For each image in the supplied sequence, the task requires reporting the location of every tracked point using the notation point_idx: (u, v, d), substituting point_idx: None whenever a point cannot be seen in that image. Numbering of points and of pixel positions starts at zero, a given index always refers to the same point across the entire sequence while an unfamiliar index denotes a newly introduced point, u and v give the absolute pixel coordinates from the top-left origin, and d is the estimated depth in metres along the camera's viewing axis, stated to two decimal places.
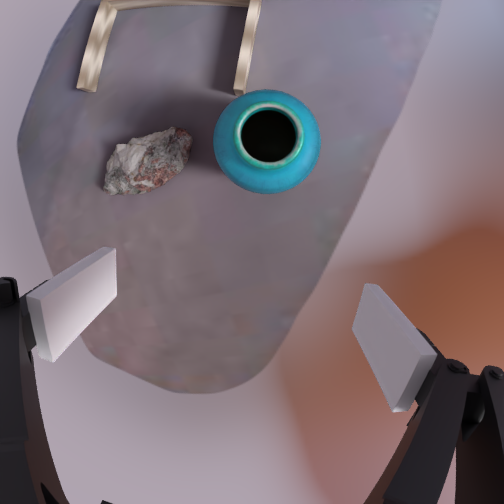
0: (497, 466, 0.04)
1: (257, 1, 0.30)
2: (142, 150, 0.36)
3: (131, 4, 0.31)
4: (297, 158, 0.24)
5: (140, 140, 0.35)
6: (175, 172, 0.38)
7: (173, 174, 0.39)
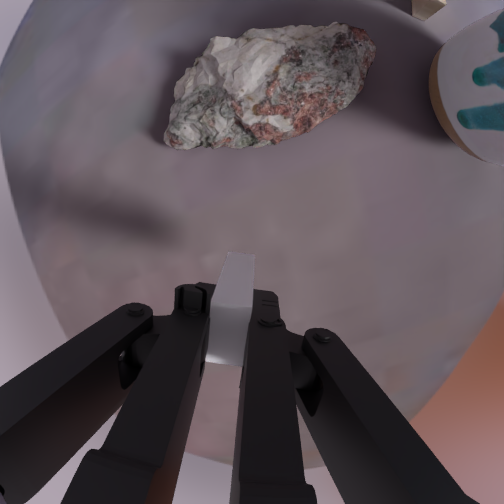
0: (366, 445, 0.05)
1: None
2: (276, 52, 0.15)
3: None
4: None
5: (272, 32, 0.14)
6: (338, 108, 0.17)
7: (332, 112, 0.18)
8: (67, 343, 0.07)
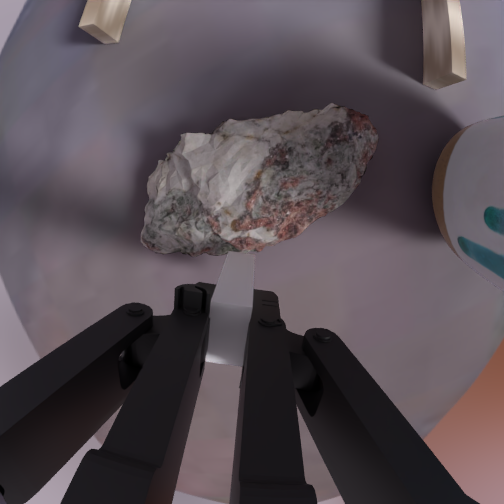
0: (367, 445, 0.05)
1: None
2: (258, 154, 0.15)
3: None
4: None
5: (253, 127, 0.14)
6: (329, 211, 0.17)
7: None
8: (67, 343, 0.07)
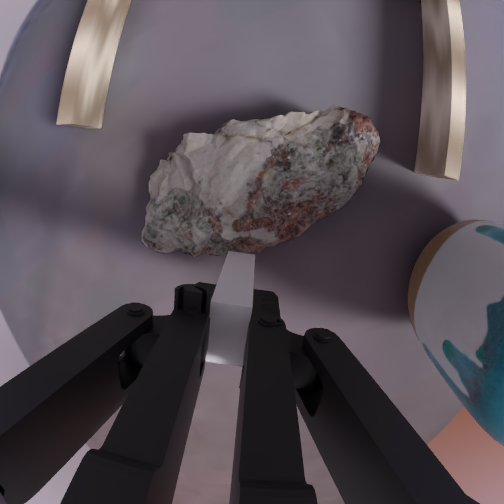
0: (367, 445, 0.05)
1: None
2: (260, 154, 0.15)
3: None
4: None
5: (256, 127, 0.14)
6: (330, 212, 0.17)
7: None
8: (67, 343, 0.07)
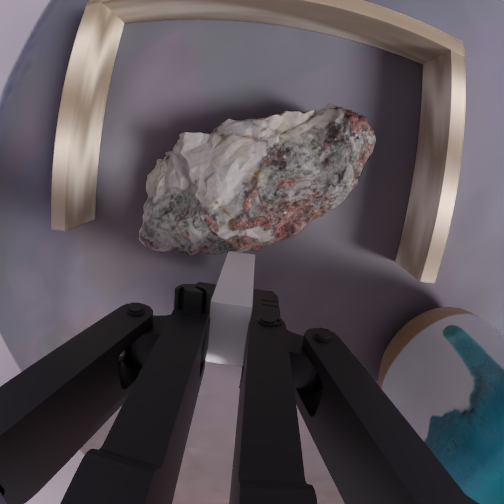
0: (366, 445, 0.05)
1: (462, 69, 0.13)
2: (256, 154, 0.15)
3: (159, 10, 0.14)
4: None
5: (251, 127, 0.14)
6: (326, 211, 0.17)
7: None
8: (67, 343, 0.07)
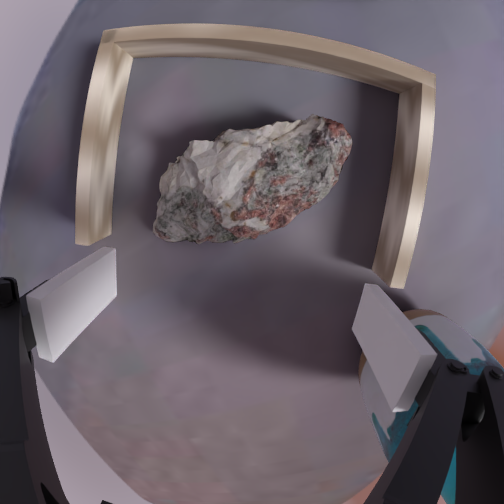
0: (497, 466, 0.04)
1: (432, 100, 0.17)
2: (252, 157, 0.18)
3: (165, 49, 0.18)
4: None
5: (248, 135, 0.18)
6: (312, 204, 0.21)
7: (306, 207, 0.21)
8: None
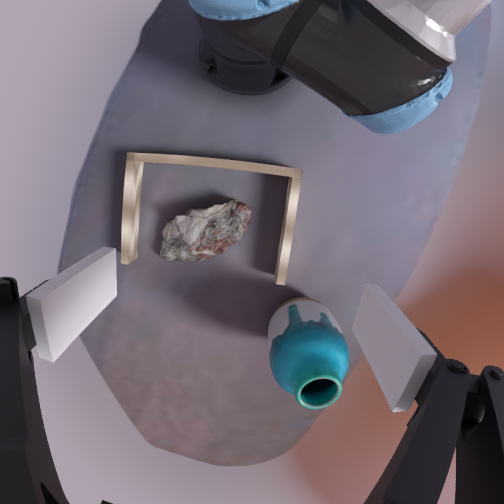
0: (497, 466, 0.04)
1: (298, 186, 0.40)
2: (203, 223, 0.41)
3: None
4: (333, 385, 0.34)
5: (201, 213, 0.41)
6: None
7: (232, 243, 0.44)
8: None
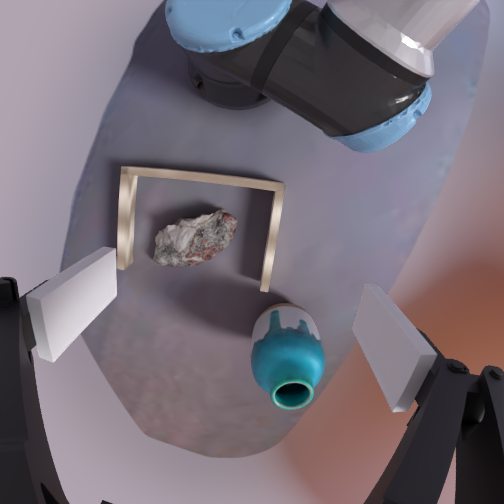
0: (497, 466, 0.04)
1: (281, 199, 0.42)
2: (192, 232, 0.44)
3: None
4: (308, 388, 0.37)
5: (190, 223, 0.43)
6: (222, 249, 0.46)
7: (220, 250, 0.47)
8: None
